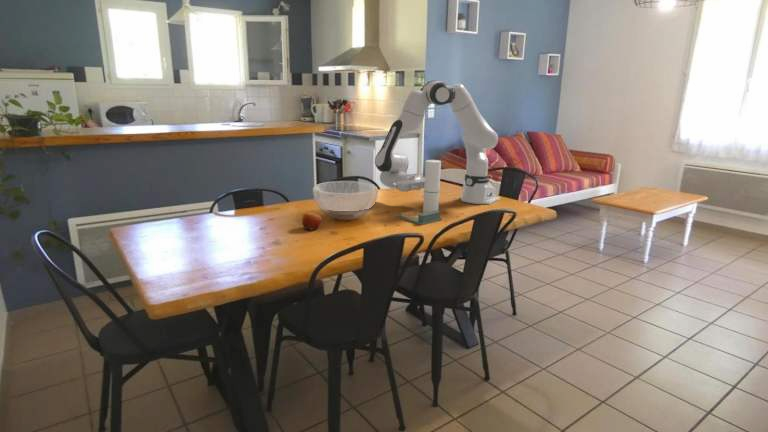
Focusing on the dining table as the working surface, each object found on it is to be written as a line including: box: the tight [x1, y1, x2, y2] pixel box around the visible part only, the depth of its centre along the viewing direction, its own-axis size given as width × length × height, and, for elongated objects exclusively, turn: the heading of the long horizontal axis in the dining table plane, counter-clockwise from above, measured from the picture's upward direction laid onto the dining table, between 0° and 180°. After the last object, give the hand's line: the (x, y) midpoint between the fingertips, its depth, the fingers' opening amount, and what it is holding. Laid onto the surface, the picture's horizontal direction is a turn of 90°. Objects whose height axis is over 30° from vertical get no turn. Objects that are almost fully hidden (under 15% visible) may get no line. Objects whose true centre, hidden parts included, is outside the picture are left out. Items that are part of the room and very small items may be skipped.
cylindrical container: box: [422, 159, 442, 213], centre depth 216 cm, size 7×7×25 cm
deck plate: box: [395, 210, 442, 226], centre depth 209 cm, size 13×16×4 cm
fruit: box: [301, 212, 323, 232], centre depth 190 cm, size 8×8×8 cm
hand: (425, 187), depth 219 cm, fingers open, 8 cm apart
